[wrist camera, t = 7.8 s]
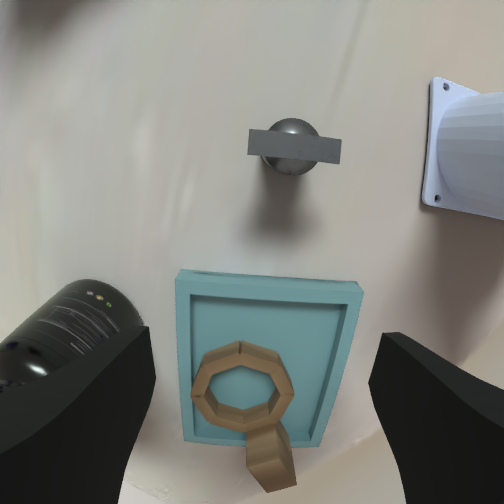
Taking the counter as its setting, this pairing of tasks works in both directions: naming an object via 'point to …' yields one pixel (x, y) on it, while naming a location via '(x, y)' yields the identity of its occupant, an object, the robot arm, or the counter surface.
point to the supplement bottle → (63, 331)
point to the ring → (252, 411)
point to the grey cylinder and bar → (293, 146)
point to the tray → (265, 346)
